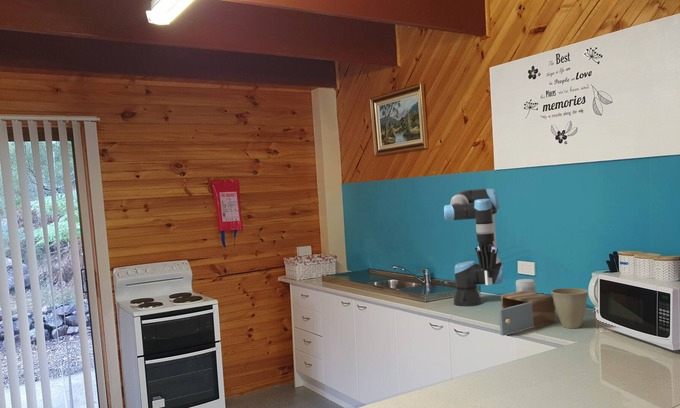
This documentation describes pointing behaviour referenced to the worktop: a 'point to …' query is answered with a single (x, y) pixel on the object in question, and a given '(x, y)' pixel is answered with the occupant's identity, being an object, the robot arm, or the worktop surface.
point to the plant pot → (570, 306)
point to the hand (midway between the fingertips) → (488, 284)
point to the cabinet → (533, 305)
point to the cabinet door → (515, 318)
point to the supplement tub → (525, 285)
